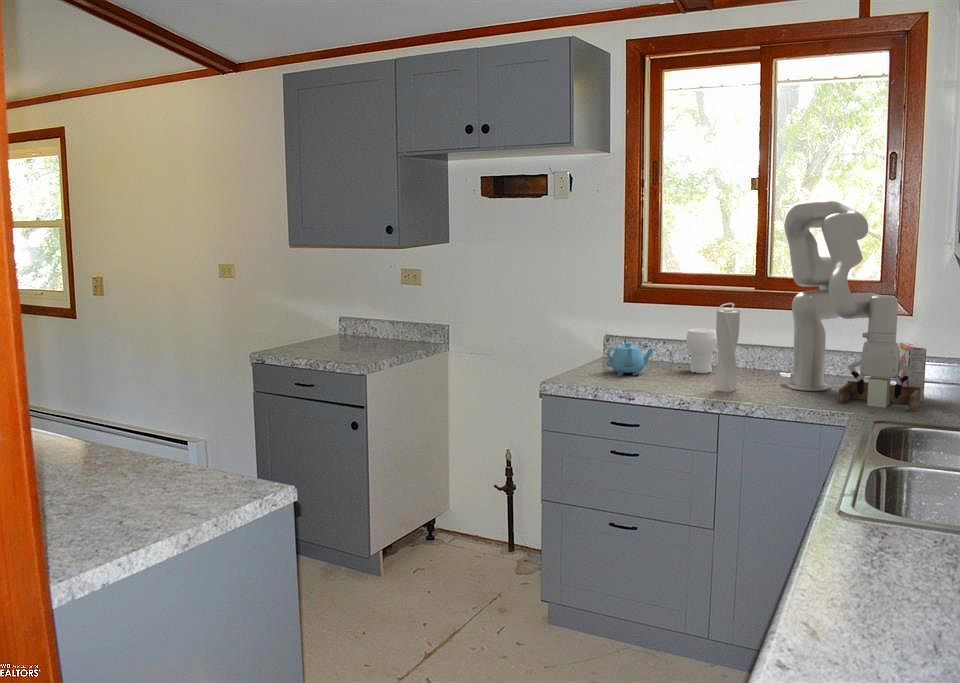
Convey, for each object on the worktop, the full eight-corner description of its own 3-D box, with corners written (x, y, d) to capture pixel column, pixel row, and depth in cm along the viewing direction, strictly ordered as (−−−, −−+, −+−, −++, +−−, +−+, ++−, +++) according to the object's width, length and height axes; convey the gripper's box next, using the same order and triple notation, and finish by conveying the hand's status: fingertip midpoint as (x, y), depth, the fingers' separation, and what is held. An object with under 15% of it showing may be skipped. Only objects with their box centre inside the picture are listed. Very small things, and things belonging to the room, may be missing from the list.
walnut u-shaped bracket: (838, 404, 251) (838, 387, 250) (847, 396, 261) (848, 380, 260) (912, 412, 240) (913, 394, 239) (919, 404, 249) (920, 387, 248)
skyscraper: (719, 386, 279) (721, 302, 275) (741, 388, 275) (744, 303, 271) (710, 390, 273) (712, 304, 269) (733, 393, 268) (736, 305, 264)
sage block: (867, 405, 249) (868, 378, 248) (870, 402, 253) (872, 376, 252) (885, 407, 246) (887, 380, 245) (889, 404, 250) (890, 377, 249)
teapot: (657, 374, 302) (657, 343, 301) (629, 378, 294) (630, 346, 293) (626, 368, 315) (627, 338, 313) (599, 372, 307) (599, 342, 305)
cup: (679, 371, 307) (680, 330, 305) (696, 367, 314) (697, 327, 312) (705, 375, 299) (706, 333, 297) (721, 371, 306) (722, 330, 304)
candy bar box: (895, 394, 264) (898, 342, 261) (912, 394, 263) (916, 342, 260) (905, 401, 253) (909, 347, 251) (924, 402, 252) (927, 347, 250)
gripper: (847, 337, 248) (844, 394, 251) (912, 341, 238) (908, 401, 241) (853, 334, 254) (850, 390, 257) (916, 338, 244) (913, 396, 247)
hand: (878, 395), depth 249 cm, fingers open, 9 cm apart
